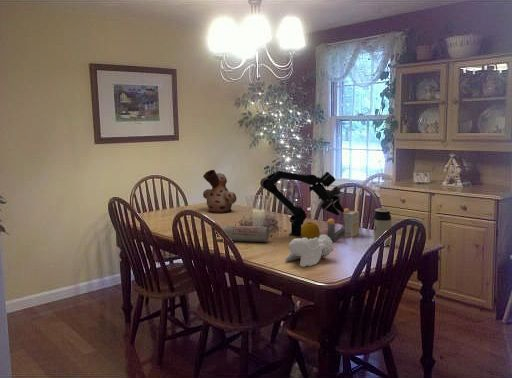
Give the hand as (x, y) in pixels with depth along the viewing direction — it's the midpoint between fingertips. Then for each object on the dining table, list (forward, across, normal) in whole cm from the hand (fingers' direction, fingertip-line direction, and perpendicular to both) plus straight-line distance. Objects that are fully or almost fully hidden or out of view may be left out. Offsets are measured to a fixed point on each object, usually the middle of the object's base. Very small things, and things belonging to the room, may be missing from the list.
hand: (341, 213), depth 265 cm
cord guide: (+8, 0, +9) cm, 12 cm away
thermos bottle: (-17, -29, +28) cm, 43 cm away
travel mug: (+26, -13, -9) cm, 31 cm away
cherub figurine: (+9, -53, +9) cm, 55 cm away
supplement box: (+13, 0, +4) cm, 13 cm away
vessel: (-61, +35, +78) cm, 104 cm away
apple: (+2, -25, +15) cm, 29 cm away
